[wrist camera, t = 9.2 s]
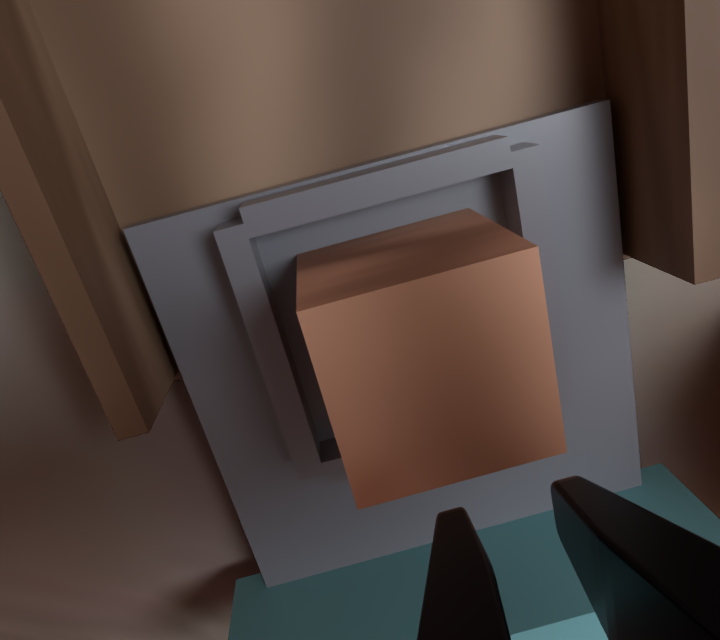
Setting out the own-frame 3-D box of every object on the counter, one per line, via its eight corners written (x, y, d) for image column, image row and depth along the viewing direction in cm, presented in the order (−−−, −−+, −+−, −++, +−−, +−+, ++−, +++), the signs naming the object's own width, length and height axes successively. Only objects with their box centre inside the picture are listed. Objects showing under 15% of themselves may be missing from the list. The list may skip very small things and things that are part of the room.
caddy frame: (162, 375, 19) (106, 481, 13) (-52, -138, 14) (-280, -302, 8) (630, 248, 19) (763, 303, 14) (587, -304, 14) (771, -570, 8)
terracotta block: (342, 405, 18) (358, 510, 13) (296, 254, 16) (296, 312, 11) (496, 363, 18) (567, 452, 13) (468, 207, 16) (538, 246, 11)
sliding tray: (246, 603, 21) (231, 743, 16) (89, 234, 16) (3, 285, 11) (663, 489, 21) (765, 595, 17) (636, 88, 16) (772, 79, 12)
